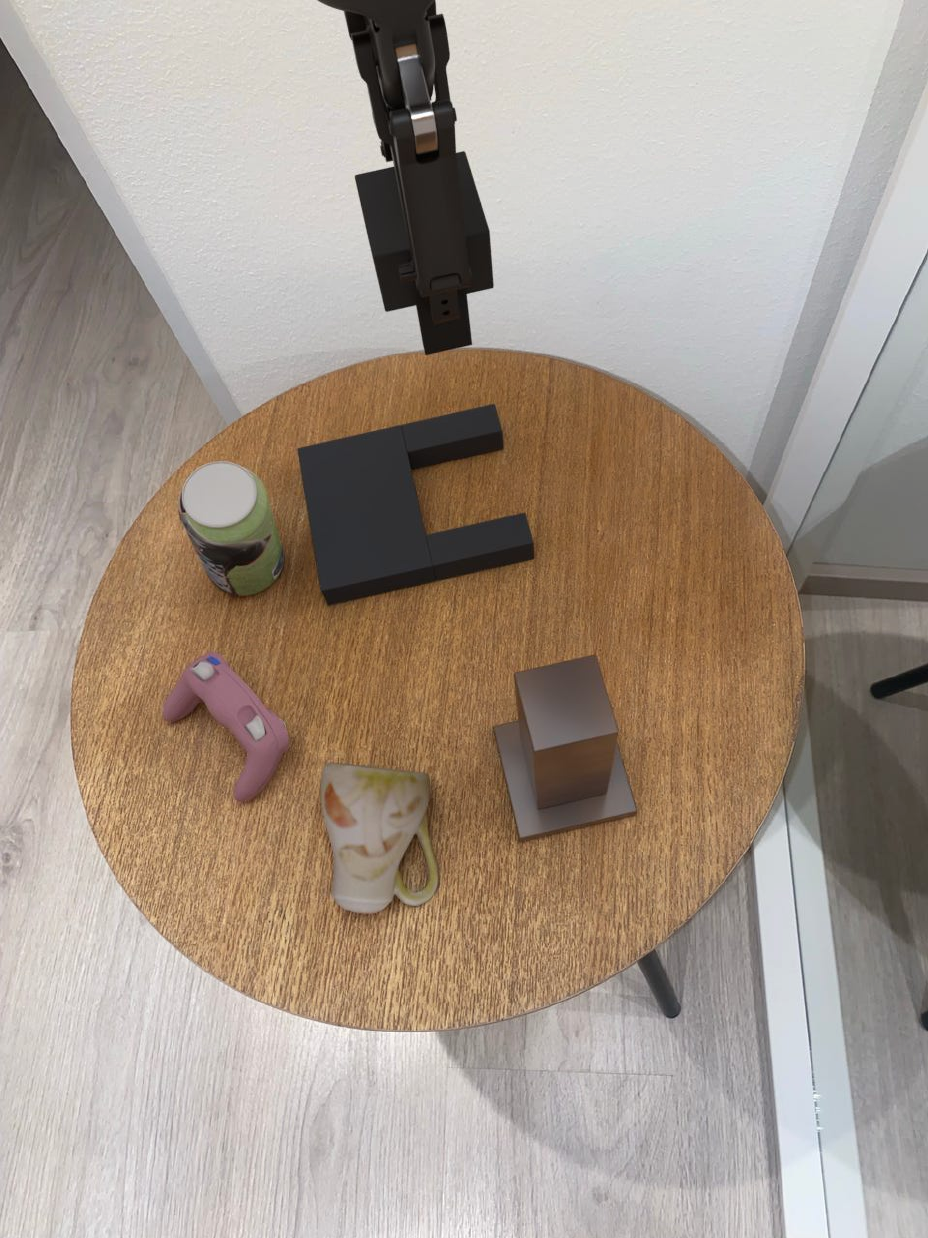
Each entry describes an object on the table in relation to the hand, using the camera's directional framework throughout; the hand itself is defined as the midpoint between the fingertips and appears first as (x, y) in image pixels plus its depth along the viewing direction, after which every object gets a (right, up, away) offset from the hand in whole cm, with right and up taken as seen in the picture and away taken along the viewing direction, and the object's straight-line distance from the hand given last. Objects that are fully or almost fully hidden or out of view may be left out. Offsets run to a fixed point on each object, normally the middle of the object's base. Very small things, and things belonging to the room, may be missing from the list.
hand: (435, 300), depth 56 cm
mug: (-4, -34, +9) cm, 35 cm away
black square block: (0, +1, -3) cm, 3 cm away
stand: (+8, -29, +10) cm, 32 cm away
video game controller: (-15, -27, +13) cm, 33 cm away
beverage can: (-14, -15, +19) cm, 28 cm away
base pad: (-2, -10, +20) cm, 22 cm away
